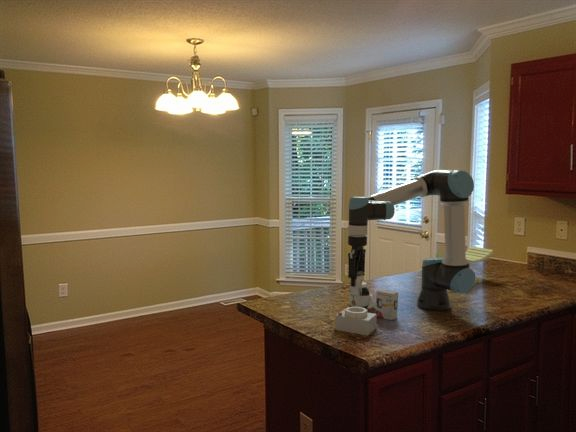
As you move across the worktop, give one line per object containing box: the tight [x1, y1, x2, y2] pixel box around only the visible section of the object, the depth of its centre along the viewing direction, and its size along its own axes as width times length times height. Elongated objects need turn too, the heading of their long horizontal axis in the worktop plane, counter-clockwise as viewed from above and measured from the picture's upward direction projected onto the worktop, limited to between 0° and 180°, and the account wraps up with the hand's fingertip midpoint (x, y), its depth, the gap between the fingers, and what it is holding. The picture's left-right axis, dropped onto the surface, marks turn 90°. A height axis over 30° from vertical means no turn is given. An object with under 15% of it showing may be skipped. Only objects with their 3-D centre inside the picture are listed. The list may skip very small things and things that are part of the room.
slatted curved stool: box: [435, 246, 494, 284], centre depth 283 cm, size 30×16×18 cm, turn 122°
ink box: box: [374, 288, 399, 321], centre depth 214 cm, size 9×5×12 cm, turn 50°
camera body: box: [334, 306, 378, 336], centre depth 199 cm, size 14×10×8 cm
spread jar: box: [348, 281, 376, 310], centre depth 229 cm, size 12×11×12 cm
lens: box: [350, 270, 363, 297], centre depth 197 cm, size 5×5×10 cm
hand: (356, 292), depth 198 cm, fingers closed on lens, 4 cm apart
